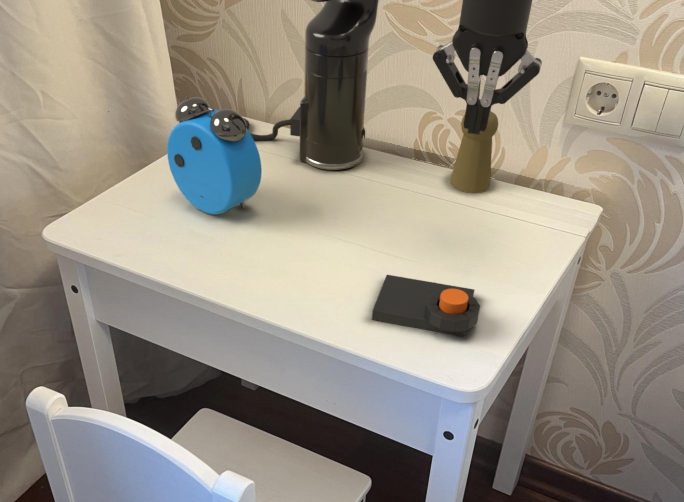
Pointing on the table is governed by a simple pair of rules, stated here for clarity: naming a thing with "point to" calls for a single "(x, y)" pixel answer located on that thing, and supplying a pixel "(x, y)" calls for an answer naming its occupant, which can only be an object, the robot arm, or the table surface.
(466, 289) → the scale
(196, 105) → the alarm clock
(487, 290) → the table surface
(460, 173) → the olive brown pawn
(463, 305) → the tare button
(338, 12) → the robot arm
